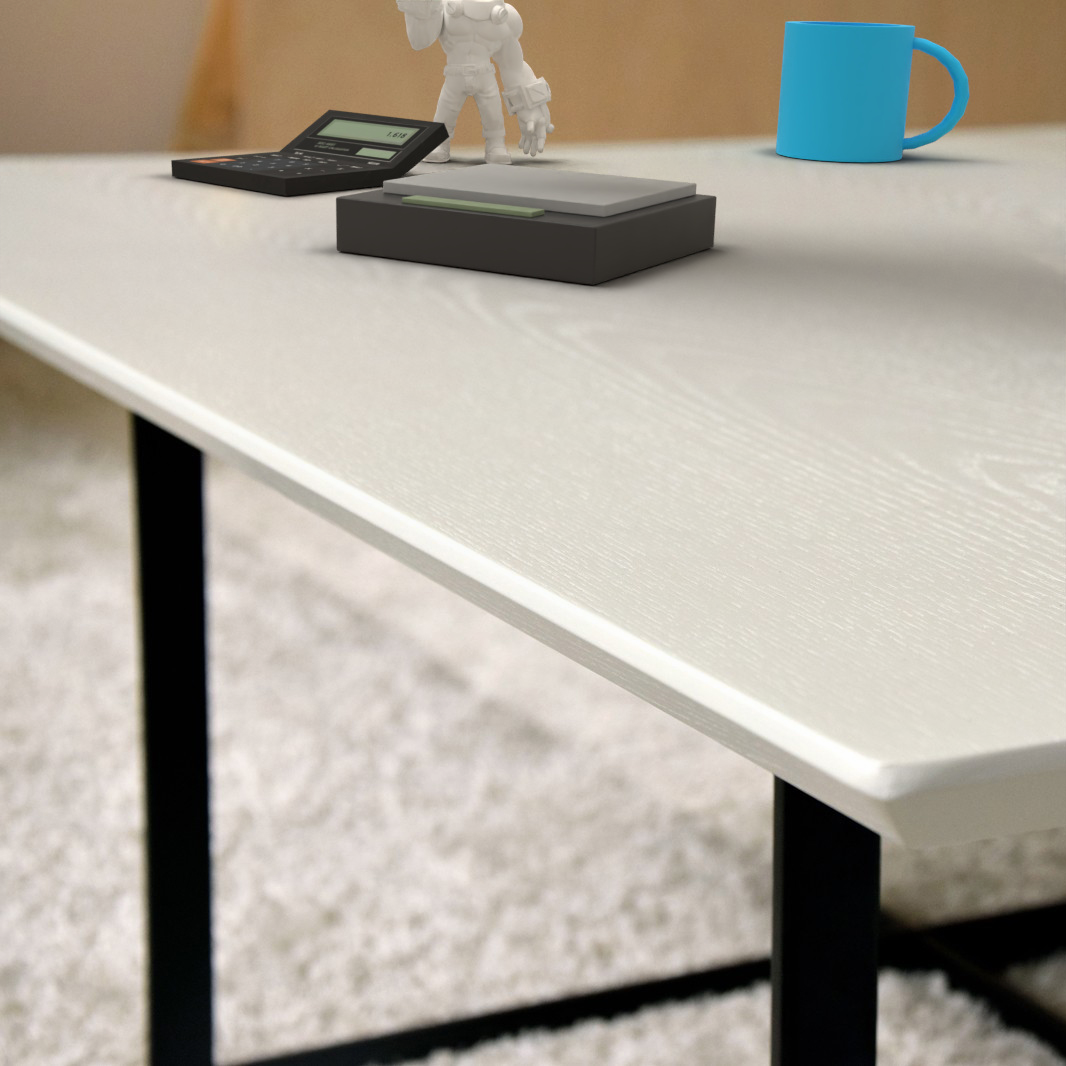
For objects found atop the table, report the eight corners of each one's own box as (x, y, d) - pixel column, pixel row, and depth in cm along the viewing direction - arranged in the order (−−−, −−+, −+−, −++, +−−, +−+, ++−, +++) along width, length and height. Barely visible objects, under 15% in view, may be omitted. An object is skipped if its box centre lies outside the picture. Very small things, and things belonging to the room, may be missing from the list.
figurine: (418, 170, 93) (418, -53, 89) (371, 160, 97) (369, -54, 93) (561, 161, 99) (567, -49, 95) (511, 152, 102) (515, -50, 98)
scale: (714, 247, 70) (718, 184, 69) (593, 285, 61) (596, 213, 60) (477, 219, 76) (479, 160, 75) (335, 251, 67) (334, 184, 66)
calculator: (172, 176, 87) (169, 119, 86) (335, 161, 96) (334, 109, 95) (285, 195, 82) (284, 134, 81) (448, 178, 90) (449, 122, 89)
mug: (775, 158, 103) (785, 24, 101) (775, 145, 111) (785, 20, 108) (969, 167, 102) (984, 30, 99) (956, 153, 109) (970, 26, 107)
